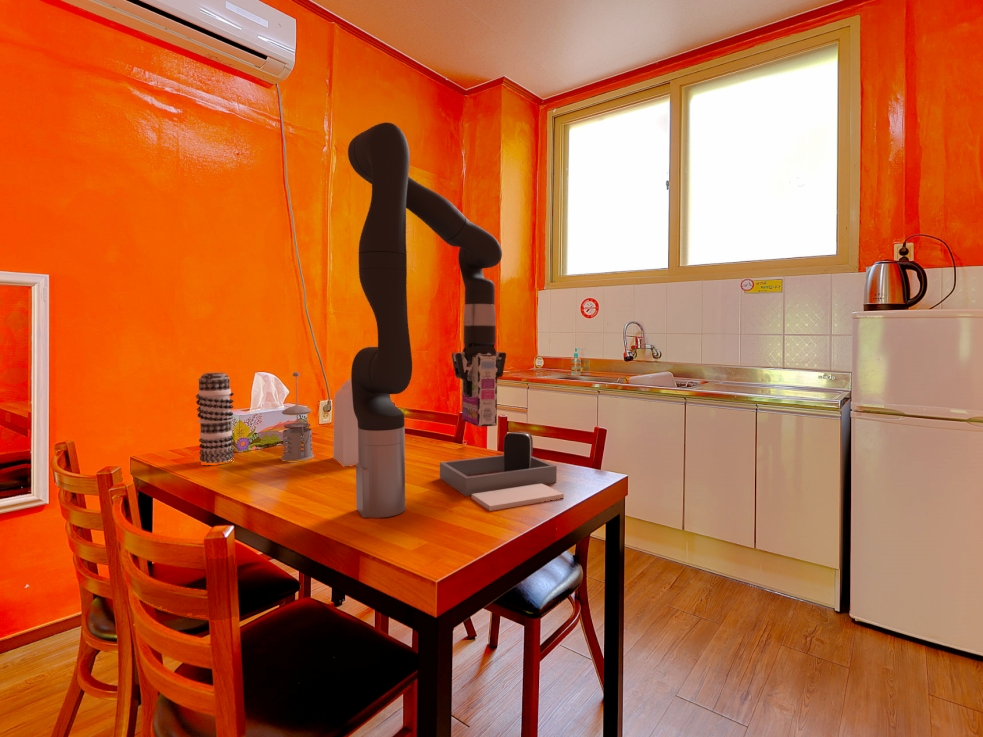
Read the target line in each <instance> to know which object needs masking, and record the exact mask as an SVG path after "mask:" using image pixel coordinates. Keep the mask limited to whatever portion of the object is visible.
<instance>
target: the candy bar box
mask: <svg viewBox="0 0 983 737" xmlns="http://www.w3.org/2000/svg"><path fill="white" fill-rule="evenodd" d="M466 362H467V360H466V359H465V357H464V360H463V367H465V365H466ZM472 364H473V372H472V379H471V381H472V397H466V396H465V394H464V393H463V380H462V379H461V381H462V384H461V385H462V391H461V393H462V395H461V396H462V397H461V399H462V400H461V401H462V402H461V404H462V405H461V406H462V407H461V409H462V410H461V412H462V414H461V416H462V417H461V420H462V421H464V422H466V423H469V424H471V425H473V426H476V427H478V428H480V427H482V428H483V427H493V426H497V425H498V424H497V422H498V420H497V418H498V417H497V416H498V412H497V411H498V378H497V355H489V354H479V355H473V356H472ZM472 364H471V365H468V366H469V367H471V366H472Z"/></svg>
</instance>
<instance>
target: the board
mask: <svg viewBox="0 0 983 737" xmlns="http://www.w3.org/2000/svg"><path fill="white" fill-rule="evenodd" d="M560 498H563V499H564V498H565V495H564V493H562V492H561V491H559V490H556V489H554V488H552V487H550V486H548V485H547V484H542V483H541V484H534V485H527V486H521V487H514V488H508V489H501V490H494V491H488V492H481V493H475V494H472V495H471V499H472V500H473V501H475V503H476V502H477V503H478V504H479V505H480V506H482V507H483V508H485V509H486V510H488V511H489V512H491V511H497V510H504V509H509V508H516V507H521V506H527V505H533V504H538V503H539V502H540V503H544V501H546V502H551V501H550V500H552V501H556V499H557V500H561V499H560ZM540 503H539V504H540Z"/></svg>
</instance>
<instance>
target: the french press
mask: <svg viewBox="0 0 983 737" xmlns="http://www.w3.org/2000/svg"><path fill="white" fill-rule="evenodd" d="M300 376H301V375H300V373H299V372H297V371H294V372H293V373H292V377H295V396H296V397H295V401H296V403H295V405H293V406H288V407H287V408H285V409H284V410H282V411H281V414H282V415H286V416H296V422H291V423H286V424H284V425H283V427H284V428H285V429H284V430H283V431H282V437H283V438H282V441H283V444H282V445H283V448H282V449H283V454H282V457H280V459H281V460H285V461H299V460H306V459H310V458H313V457H314V455H315V454H314V453H313V440H312V438H313V436H312V433H313V432H312V431H313V430H312V428H310V427H311V423H309V422H308V419H307V417H304V421H302V419H301V418H300V417H299V415H307V414H310V413H312V412H313V411H312V410H311V408H309V407H308V406H307V407H306V406H304V405H299V404H298V381H297V380H298V377H300ZM298 417H299V418H298Z"/></svg>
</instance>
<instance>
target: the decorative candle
mask: <svg viewBox="0 0 983 737" xmlns="http://www.w3.org/2000/svg"><path fill="white" fill-rule="evenodd" d="M230 379H231V377H229V376H228V374H227V373H226V372H206V373H203V374H202V375H201V376H200V377H199V378H198V379H197V380H198V393H197V394H196V395H195V398H196V401H195V403H196V405H198V407H197V408H196V410H197V418H200V419H198V423H199V424H200V425H199V427H200V432H199V439H198V442H199V443H200V444H199V445H198V446H199V448H201V449H200V450H199V452H198V453H199V455H200V456H199V460H200V462H201V461H202V462H206V463H220V462H227V461H230V460H231V459H232V458H233V459H234V457H235V455H234V454H235V453H234V451H235V450H234V447H233V445H234V441H232V440H234V436H233V430H232V428H231V427H232V424H231V422H232V421H233V417H232V416H233V415H234V413H233V412H232V411H231V409H233V408H234V405H233V404H232V403H234V402H235V401H234V400H233V399H232V398H230V397H232V396H234V394H235V393H234V392H232V388H230V386H231V383H230ZM231 461H232V460H231Z"/></svg>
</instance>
